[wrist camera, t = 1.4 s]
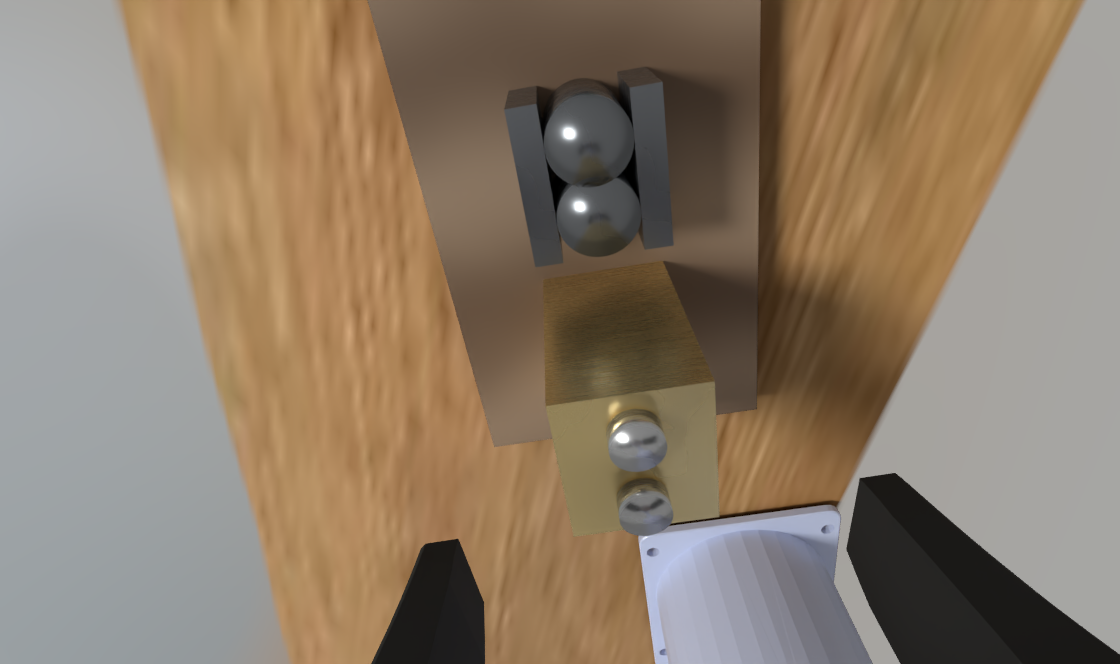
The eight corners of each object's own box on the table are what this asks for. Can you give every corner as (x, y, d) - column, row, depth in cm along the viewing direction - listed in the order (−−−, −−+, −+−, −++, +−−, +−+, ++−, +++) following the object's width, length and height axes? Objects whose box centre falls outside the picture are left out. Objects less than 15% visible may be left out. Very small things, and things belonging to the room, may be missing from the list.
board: (747, 391, 21) (756, 409, 20) (496, 428, 22) (494, 446, 21) (748, -664, 10) (767, -724, 9) (228, -541, 11) (201, -586, 10)
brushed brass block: (671, 373, 20) (726, 537, 14) (563, 388, 20) (575, 557, 14) (662, 260, 18) (722, 399, 12) (542, 279, 18) (545, 424, 12)
